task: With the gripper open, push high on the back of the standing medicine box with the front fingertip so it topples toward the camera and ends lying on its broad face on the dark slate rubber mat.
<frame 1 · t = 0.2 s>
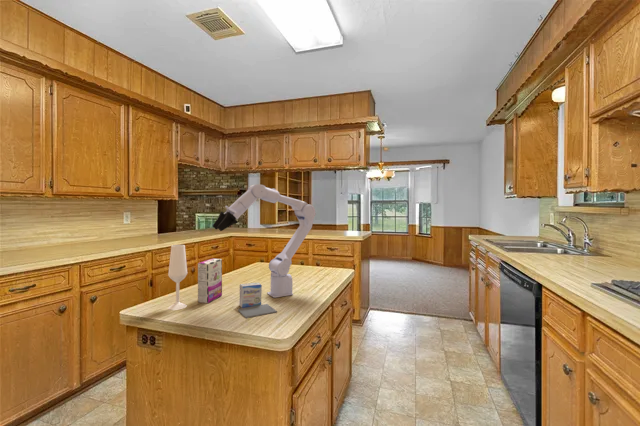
hand: (216, 228, 119), 31 cm above the countertop, tool tilted 45°, fingers open, 7 cm apart
slate mat: (257, 311, 112), on the countertop
candy bar box: (210, 299, 126), on the countertop
medicine box: (250, 306, 119), on the countertop
champagne flute: (177, 307, 115), on the countertop
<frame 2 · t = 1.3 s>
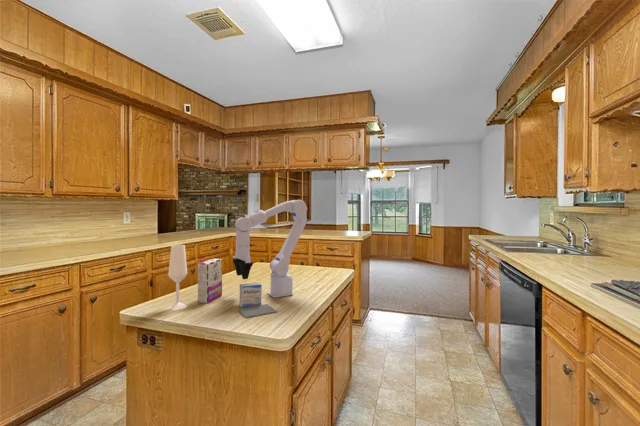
hand: (242, 277, 127), 9 cm above the countertop, tool pointing down, fingers open, 7 cm apart
nothing on the countertop moved.
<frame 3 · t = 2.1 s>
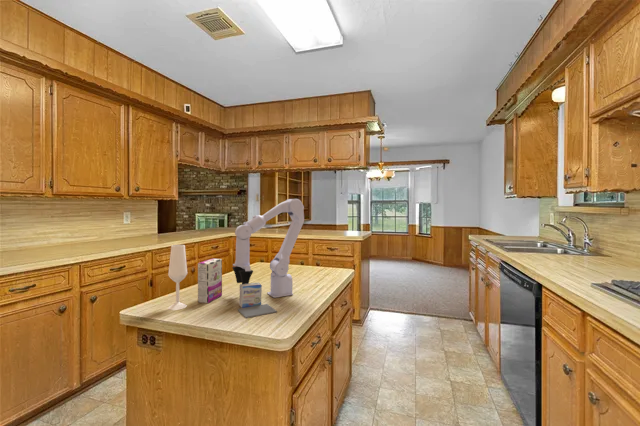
hand: (242, 284, 127), 6 cm above the countertop, tool pointing down, fingers open, 7 cm apart
nothing on the countertop moved.
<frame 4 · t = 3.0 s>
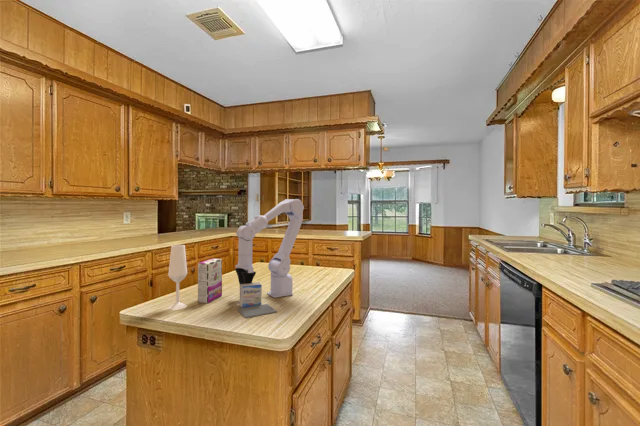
hand: (244, 286, 124), 6 cm above the countertop, tool pointing down, fingers open, 6 cm apart
medicine box: (250, 306, 119), on the countertop, touching gripper
everything else where it was.
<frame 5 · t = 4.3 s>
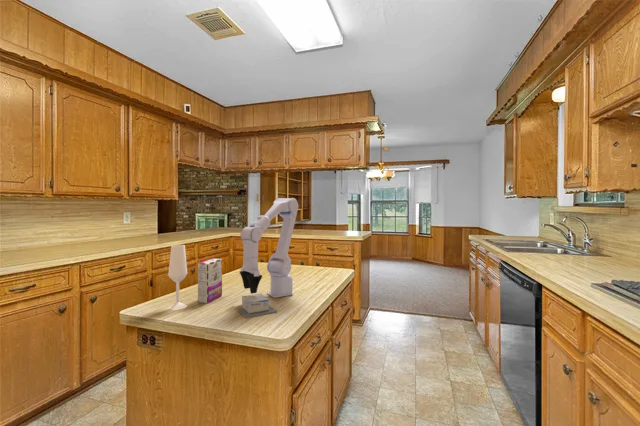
hand: (250, 290, 119), 6 cm above the countertop, tool pointing down, fingers open, 7 cm apart
medicine box: (251, 299, 117), point 3 cm above the countertop, touching slate mat
everything else where it was.
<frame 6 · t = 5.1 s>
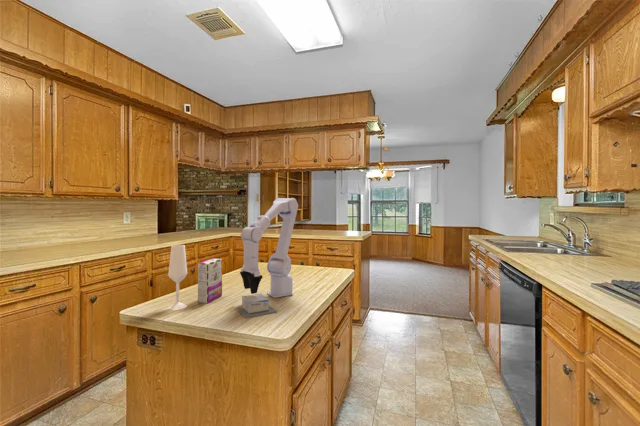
hand: (250, 290, 119), 6 cm above the countertop, tool pointing down, fingers open, 7 cm apart
nothing on the countertop moved.
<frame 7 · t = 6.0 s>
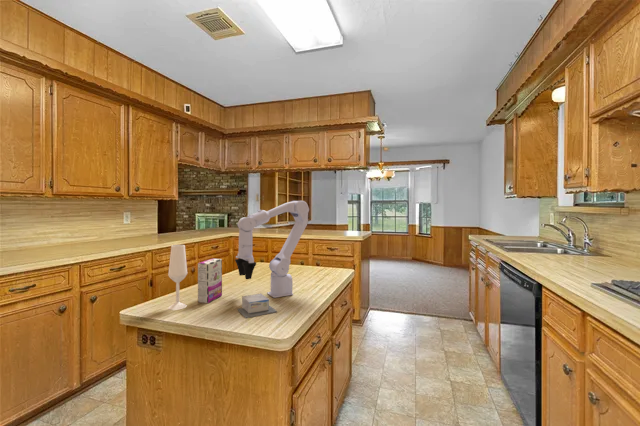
hand: (245, 277, 127), 9 cm above the countertop, tool pointing down, fingers open, 7 cm apart
nothing on the countertop moved.
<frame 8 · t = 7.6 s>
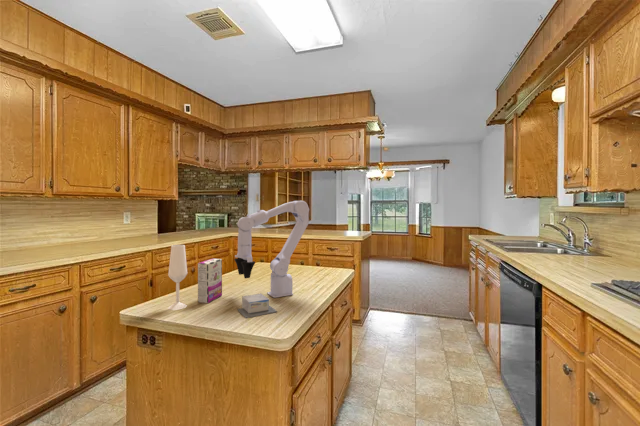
hand: (244, 276, 128), 9 cm above the countertop, tool pointing down, fingers open, 7 cm apart
nothing on the countertop moved.
at the end: medicine box tilted 90°; medicine box touching slate mat; medicine box inside the target area (3.1 cm from its centre), point 2.7 cm above the countertop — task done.
